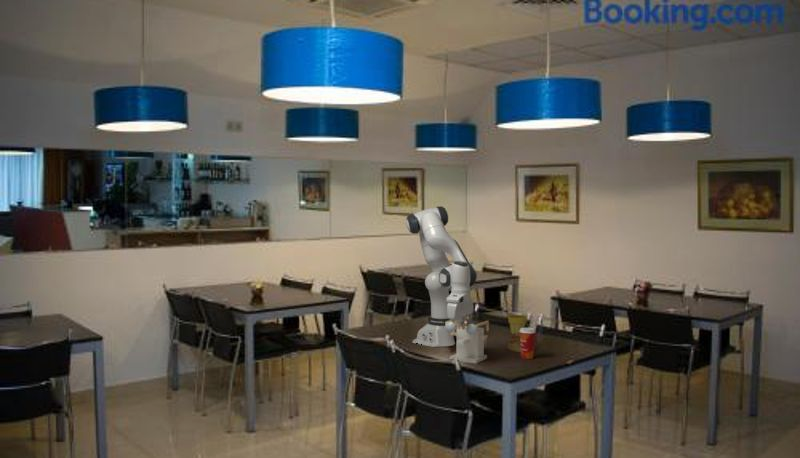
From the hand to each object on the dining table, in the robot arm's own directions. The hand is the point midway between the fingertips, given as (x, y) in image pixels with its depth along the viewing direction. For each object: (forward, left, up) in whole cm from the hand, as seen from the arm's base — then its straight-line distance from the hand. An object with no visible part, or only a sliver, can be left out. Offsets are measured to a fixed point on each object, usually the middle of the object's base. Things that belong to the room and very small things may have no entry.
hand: (460, 326), depth 308 cm
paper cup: (+23, +25, -17) cm, 38 cm away
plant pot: (-2, +76, -17) cm, 78 cm away
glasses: (0, +6, -3) cm, 7 cm away
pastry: (+13, +42, -18) cm, 47 cm away
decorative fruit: (-2, +24, -17) cm, 30 cm away
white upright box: (0, +7, -17) cm, 18 cm away
